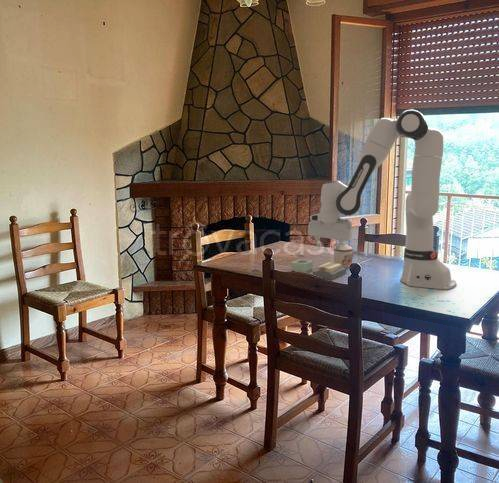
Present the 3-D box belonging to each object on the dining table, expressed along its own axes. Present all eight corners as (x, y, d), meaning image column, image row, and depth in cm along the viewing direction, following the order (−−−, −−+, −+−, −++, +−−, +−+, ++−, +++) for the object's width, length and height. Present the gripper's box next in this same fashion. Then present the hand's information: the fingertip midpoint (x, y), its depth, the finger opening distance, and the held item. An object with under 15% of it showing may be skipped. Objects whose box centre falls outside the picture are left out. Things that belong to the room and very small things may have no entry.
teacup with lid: (343, 269, 244) (344, 245, 242) (329, 266, 251) (329, 242, 249) (360, 265, 252) (361, 241, 249) (345, 262, 259) (346, 239, 256)
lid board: (341, 268, 237) (341, 264, 236) (330, 273, 229) (330, 268, 228) (328, 266, 240) (328, 262, 240) (317, 271, 232) (317, 266, 232)
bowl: (312, 270, 243) (312, 261, 243) (304, 273, 238) (304, 264, 237) (299, 268, 248) (299, 259, 247) (291, 271, 242) (291, 262, 241)
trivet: (346, 273, 237) (346, 268, 237) (332, 279, 227) (332, 274, 226) (326, 270, 243) (326, 265, 242) (312, 276, 233) (312, 271, 232)
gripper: (354, 218, 226) (353, 249, 229) (313, 214, 238) (312, 243, 241) (348, 220, 221) (346, 252, 224) (306, 215, 233) (305, 246, 236)
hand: (328, 248), depth 233 cm, fingers open, 8 cm apart
